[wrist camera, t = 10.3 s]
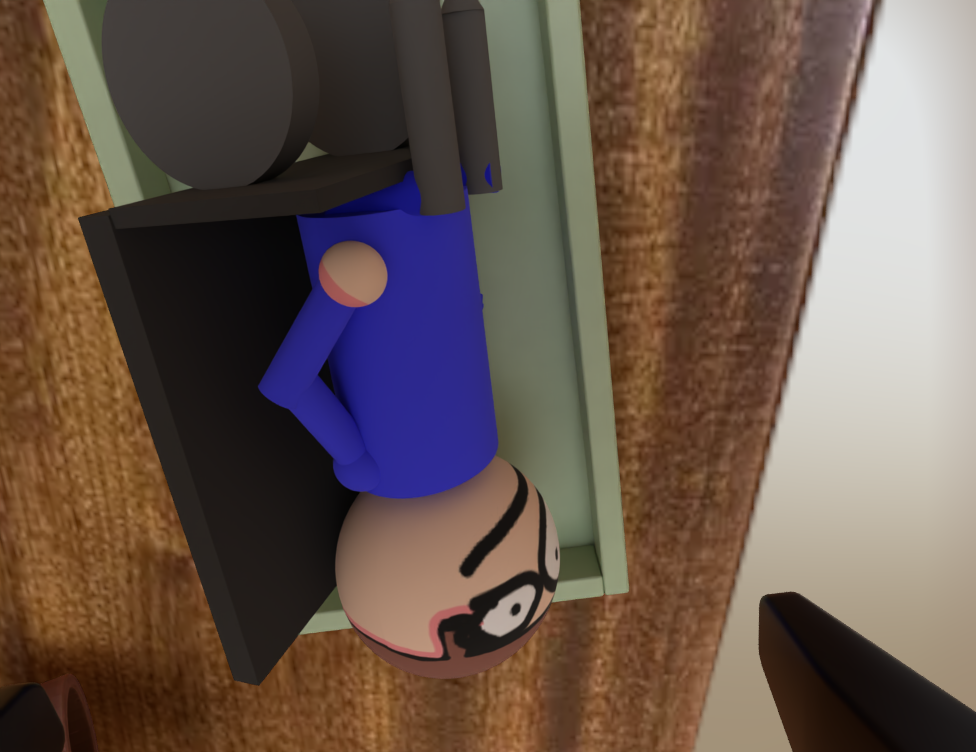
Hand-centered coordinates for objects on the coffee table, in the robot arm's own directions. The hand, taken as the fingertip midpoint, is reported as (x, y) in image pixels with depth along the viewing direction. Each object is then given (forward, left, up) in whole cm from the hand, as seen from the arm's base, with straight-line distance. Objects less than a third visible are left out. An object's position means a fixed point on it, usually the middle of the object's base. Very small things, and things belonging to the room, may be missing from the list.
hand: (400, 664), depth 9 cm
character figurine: (+1, -2, -11) cm, 11 cm away
